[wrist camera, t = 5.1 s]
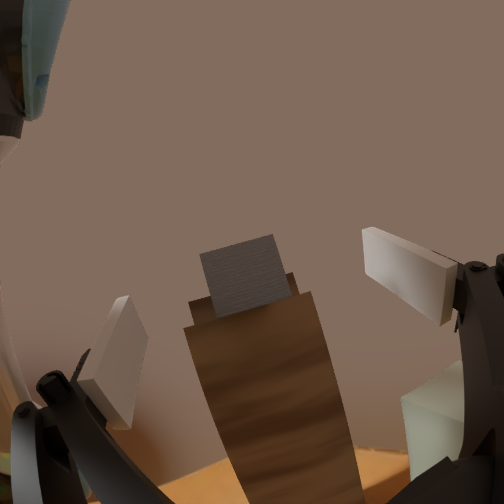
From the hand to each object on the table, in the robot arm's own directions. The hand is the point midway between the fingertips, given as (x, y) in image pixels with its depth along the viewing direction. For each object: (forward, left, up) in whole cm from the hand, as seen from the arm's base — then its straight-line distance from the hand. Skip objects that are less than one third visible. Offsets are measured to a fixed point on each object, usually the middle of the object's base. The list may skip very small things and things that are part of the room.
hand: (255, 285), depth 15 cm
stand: (-9, +7, -31) cm, 33 cm away
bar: (-7, +5, -1) cm, 9 cm away
